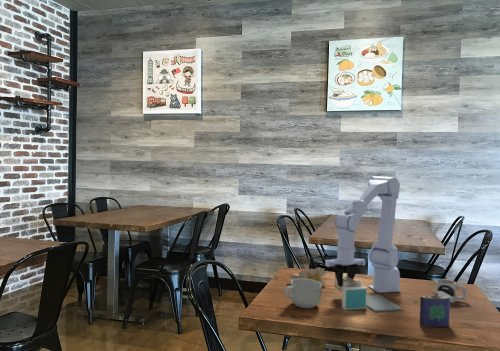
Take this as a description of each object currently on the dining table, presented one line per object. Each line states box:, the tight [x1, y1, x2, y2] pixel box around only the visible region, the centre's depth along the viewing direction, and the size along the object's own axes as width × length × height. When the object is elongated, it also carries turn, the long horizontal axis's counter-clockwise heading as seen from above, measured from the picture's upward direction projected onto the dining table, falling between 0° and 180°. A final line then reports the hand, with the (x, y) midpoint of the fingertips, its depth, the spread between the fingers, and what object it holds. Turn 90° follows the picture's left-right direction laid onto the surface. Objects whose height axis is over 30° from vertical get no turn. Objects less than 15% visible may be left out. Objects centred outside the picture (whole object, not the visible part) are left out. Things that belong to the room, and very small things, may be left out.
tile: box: [341, 285, 368, 311], centre depth 144 cm, size 8×2×7 cm, turn 104°
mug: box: [435, 278, 468, 304], centre depth 154 cm, size 10×7×7 cm
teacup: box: [284, 278, 323, 309], centre depth 144 cm, size 14×11×8 cm
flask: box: [419, 290, 451, 329], centre depth 129 cm, size 9×3×11 cm, turn 95°
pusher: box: [333, 272, 362, 293], centre depth 150 cm, size 6×11×5 cm, turn 14°
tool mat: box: [366, 294, 403, 313], centre depth 149 cm, size 10×15×1 cm, turn 14°
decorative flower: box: [288, 267, 329, 285], centre depth 170 cm, size 15×11×10 cm
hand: (344, 285), depth 151 cm, fingers closed on pusher, 3 cm apart
